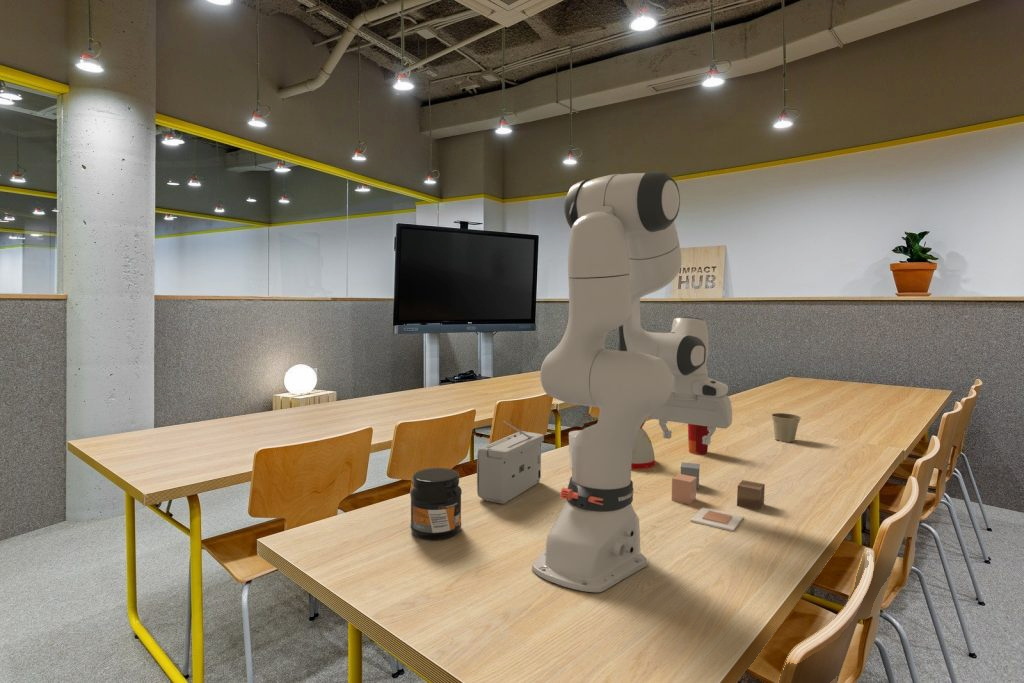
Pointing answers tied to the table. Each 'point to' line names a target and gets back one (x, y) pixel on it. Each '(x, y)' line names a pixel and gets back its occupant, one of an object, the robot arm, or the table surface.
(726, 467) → the table surface
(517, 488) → the stereo radio cassette player
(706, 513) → the tile
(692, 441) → the paper cup
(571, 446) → the white cup
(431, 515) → the supplement container
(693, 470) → the grey block
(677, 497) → the salmon orange block
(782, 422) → the flower pot
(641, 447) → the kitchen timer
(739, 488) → the walnut block
